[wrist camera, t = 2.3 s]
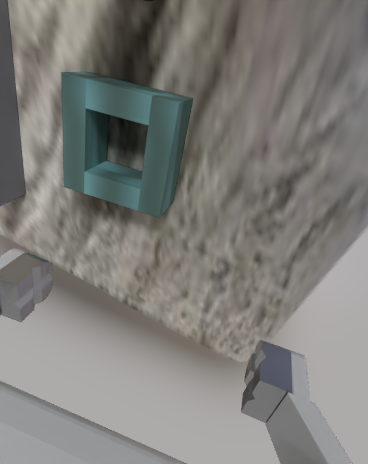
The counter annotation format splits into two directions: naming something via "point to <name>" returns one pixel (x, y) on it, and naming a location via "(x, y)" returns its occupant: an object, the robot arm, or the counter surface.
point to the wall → (9, 118)
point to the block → (96, 135)
